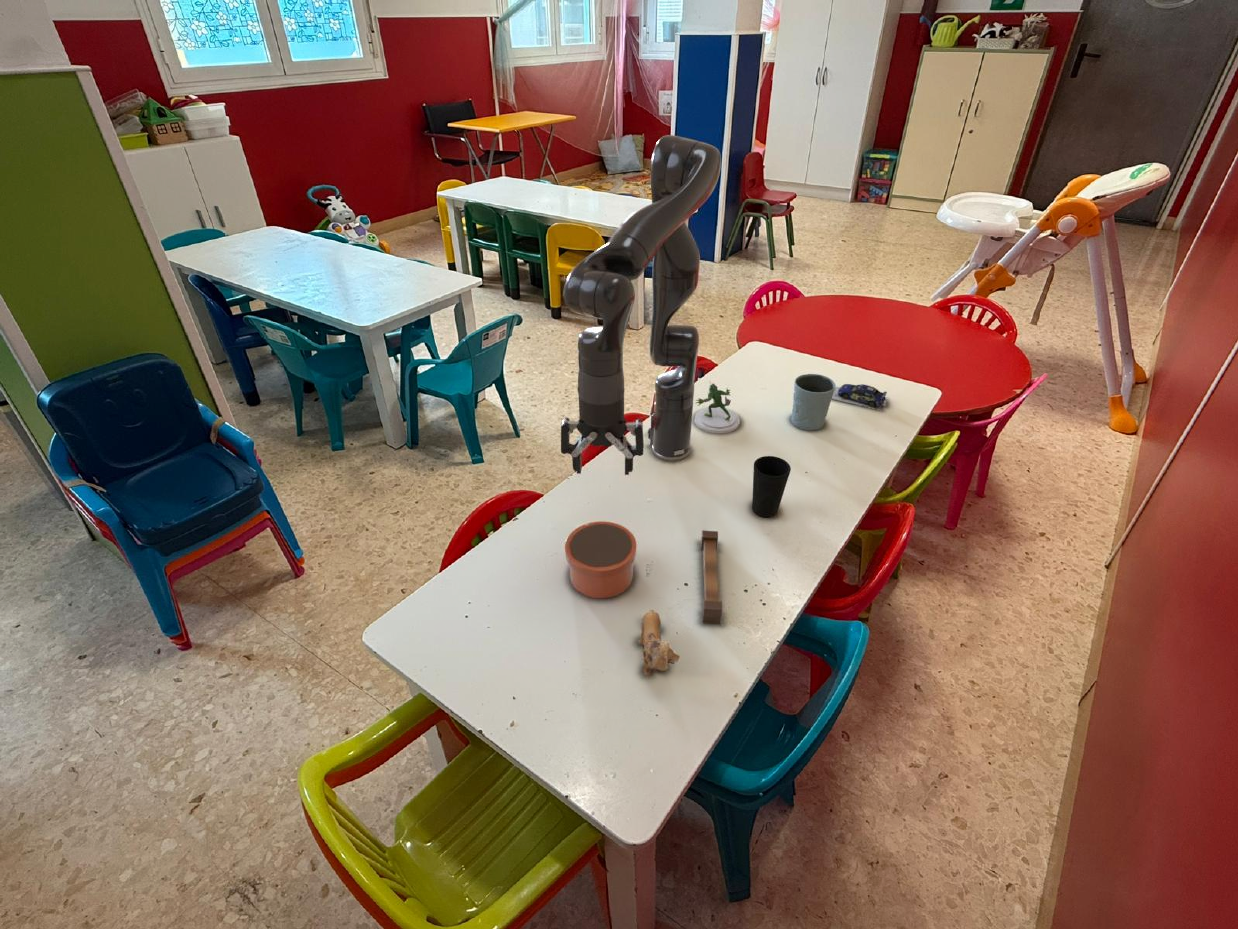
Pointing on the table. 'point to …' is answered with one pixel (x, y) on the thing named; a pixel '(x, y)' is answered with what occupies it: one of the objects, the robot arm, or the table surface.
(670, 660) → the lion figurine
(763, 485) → the cup
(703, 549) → the oak rail
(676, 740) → the table surface
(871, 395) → the race car
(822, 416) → the grey planter pot
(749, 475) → the table surface
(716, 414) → the monster figurine
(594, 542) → the terracotta pot
